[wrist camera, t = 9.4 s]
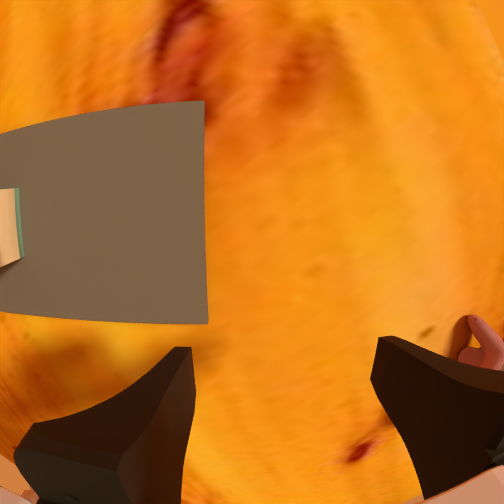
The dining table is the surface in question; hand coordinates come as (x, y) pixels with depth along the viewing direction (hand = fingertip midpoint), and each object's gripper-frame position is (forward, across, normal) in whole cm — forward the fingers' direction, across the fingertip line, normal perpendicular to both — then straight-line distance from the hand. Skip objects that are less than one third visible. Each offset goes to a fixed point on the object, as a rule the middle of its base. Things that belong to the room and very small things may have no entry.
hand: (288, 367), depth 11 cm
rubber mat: (+9, +15, -5) cm, 18 cm away
